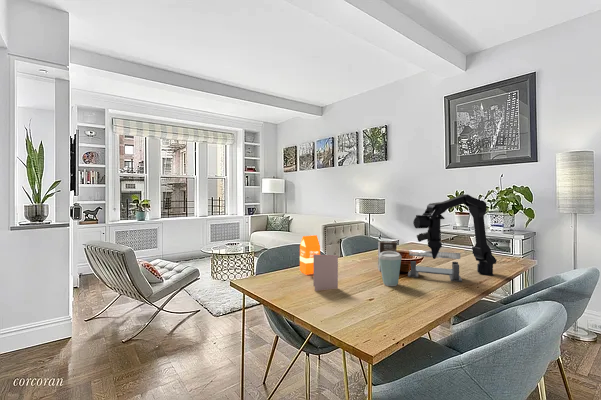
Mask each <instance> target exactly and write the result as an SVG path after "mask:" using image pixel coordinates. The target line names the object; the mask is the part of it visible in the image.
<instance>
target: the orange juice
mask: <svg viewBox="0 0 601 400" xmlns="http://www.w3.org/2000/svg"><path fill="white" fill-rule="evenodd" d="M299 244H300V245H299V272H300V271H301V272H300V273H302V274H304V275H313V254H317V255H321V245H320V241H319V238H318V235H314V234H313V235H304V236H303V235H302V238H301V241H300V243H299Z"/></svg>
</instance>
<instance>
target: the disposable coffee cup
mask: <svg viewBox="0 0 601 400" xmlns="http://www.w3.org/2000/svg"><path fill="white" fill-rule="evenodd" d="M378 258H379V261H380V267H381V271H380V273H381V277H382V284H383V285H384V286H386V287H396V286H398V284H399V280H400V278H399V277H400V272H401V271H400V270H401V264H402V258H403V257H402V255H401V254H400V252H397V251H396V252H393V251H384V252H381V253H380V255H379V257H378V256H377V259H378Z"/></svg>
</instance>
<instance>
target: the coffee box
mask: <svg viewBox="0 0 601 400" xmlns="http://www.w3.org/2000/svg"><path fill="white" fill-rule="evenodd" d="M377 243H378V246H377V248H378V249H377V250H378V252H377V269H378V271H379V272H381V267H380V261H379V258H378V257H379V255H380V253H381V252H384V251H393V252H397V243H398V242H395V240H394V241H392V240H390V241H389V240H378V242H377Z"/></svg>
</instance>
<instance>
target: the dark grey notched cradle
mask: <svg viewBox="0 0 601 400" xmlns="http://www.w3.org/2000/svg"><path fill="white" fill-rule="evenodd" d="M451 262H452V265H451V267H452V268H451V269H452V275H448V276H449V279H450V282H459V283H462V282H463V279H462V277H461V275H460V264H459V262H458V261H451ZM410 266H411V271H410V270H409V271H410V272H409V271H408V273H407V277H408V278H415V279H419V272H416V266H417V260H416V261H411V260H410Z"/></svg>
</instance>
